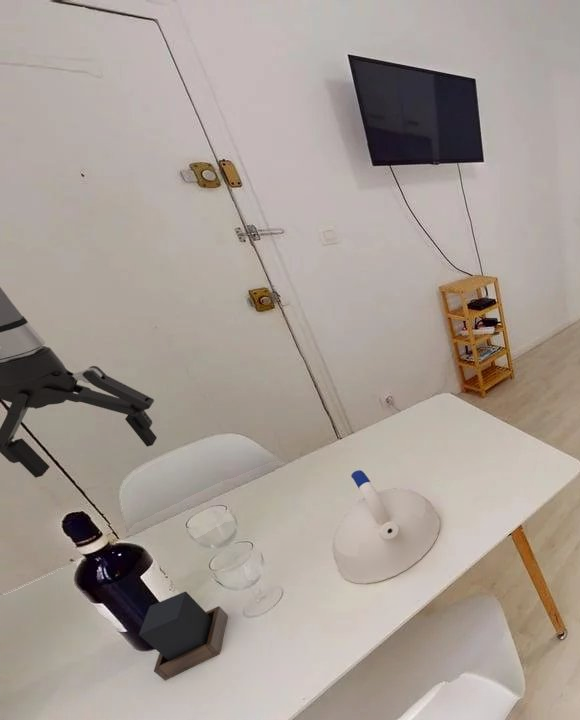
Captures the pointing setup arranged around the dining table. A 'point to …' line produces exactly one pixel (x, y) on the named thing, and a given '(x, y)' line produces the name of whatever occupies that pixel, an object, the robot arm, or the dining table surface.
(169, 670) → the tray
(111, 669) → the dining table surface
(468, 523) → the dining table surface
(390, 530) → the white plastic funnel
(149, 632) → the dark gray block
